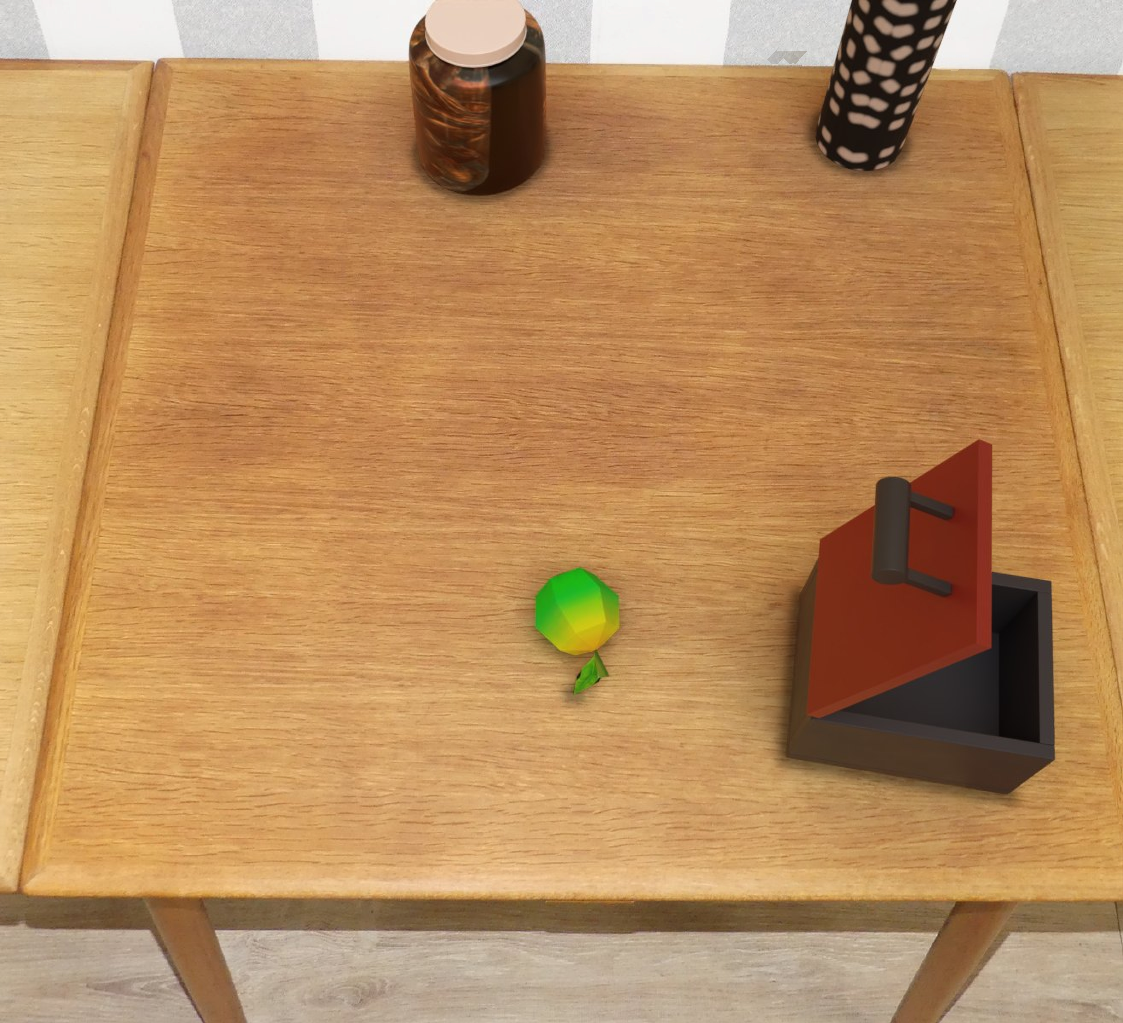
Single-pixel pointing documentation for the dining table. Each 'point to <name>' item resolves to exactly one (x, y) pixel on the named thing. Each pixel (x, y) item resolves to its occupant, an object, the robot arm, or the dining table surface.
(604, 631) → the apple
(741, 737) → the dining table surface
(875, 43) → the spotted tube
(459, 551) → the dining table surface
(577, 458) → the dining table surface
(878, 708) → the dark storage box
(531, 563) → the dining table surface
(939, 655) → the lid
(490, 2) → the jar
